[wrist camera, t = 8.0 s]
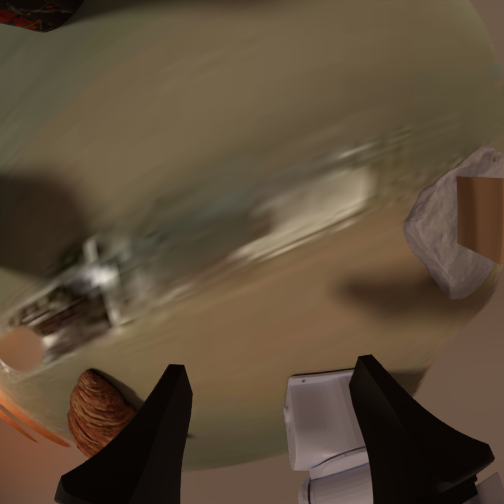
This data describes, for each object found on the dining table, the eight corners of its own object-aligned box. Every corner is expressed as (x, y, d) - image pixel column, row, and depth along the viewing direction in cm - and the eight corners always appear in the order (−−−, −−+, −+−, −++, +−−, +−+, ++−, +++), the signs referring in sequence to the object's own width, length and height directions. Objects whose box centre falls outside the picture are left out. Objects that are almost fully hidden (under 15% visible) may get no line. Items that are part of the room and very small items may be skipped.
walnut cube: (457, 243, 15) (499, 264, 10) (456, 176, 14) (502, 179, 9) (498, 239, 14) (540, 256, 9) (498, 178, 13) (543, 182, 8)
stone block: (379, 218, 20) (439, 294, 21) (403, 231, 16) (464, 318, 17) (459, 125, 17) (507, 208, 18) (491, 120, 12) (538, 217, 13)
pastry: (47, 387, 28) (27, 427, 21) (92, 362, 25) (66, 419, 18) (129, 445, 34) (120, 483, 27) (193, 434, 31) (188, 484, 24)
